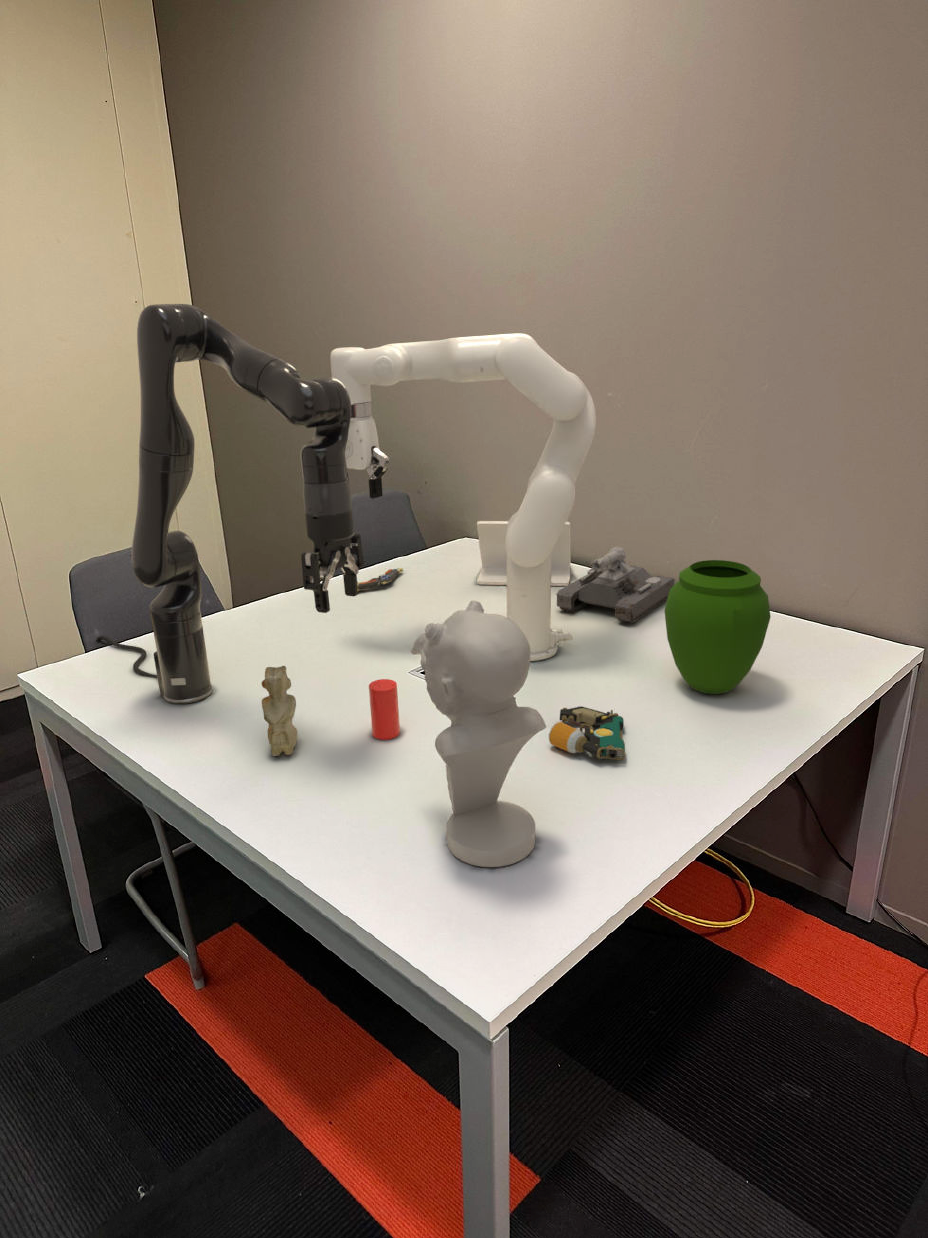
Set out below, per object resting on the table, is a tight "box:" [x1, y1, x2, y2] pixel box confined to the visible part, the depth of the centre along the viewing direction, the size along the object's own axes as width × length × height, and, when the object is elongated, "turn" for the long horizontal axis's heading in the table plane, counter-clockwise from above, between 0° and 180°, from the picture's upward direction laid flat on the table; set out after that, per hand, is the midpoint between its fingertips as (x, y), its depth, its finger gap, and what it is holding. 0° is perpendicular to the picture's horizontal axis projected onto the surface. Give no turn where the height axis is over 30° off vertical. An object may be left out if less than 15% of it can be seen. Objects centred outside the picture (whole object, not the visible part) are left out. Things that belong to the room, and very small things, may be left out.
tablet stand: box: [476, 520, 572, 587], centre depth 236 cm, size 18×25×17 cm
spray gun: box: [548, 705, 626, 761], centre depth 149 cm, size 4×17×15 cm
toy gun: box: [357, 567, 404, 592], centre depth 236 cm, size 3×19×10 cm
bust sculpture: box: [410, 599, 547, 868], centre depth 121 cm, size 16×24×35 cm
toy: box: [556, 546, 676, 624], centre depth 212 cm, size 25×20×15 cm
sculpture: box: [261, 665, 298, 757], centre depth 147 cm, size 6×7×15 cm
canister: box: [368, 678, 401, 741], centre depth 153 cm, size 5×5×10 cm
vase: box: [664, 559, 772, 695], centre depth 164 cm, size 20×20×24 cm
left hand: (337, 603), depth 142 cm, fingers open, 8 cm apart
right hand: (359, 494), depth 179 cm, fingers open, 9 cm apart
